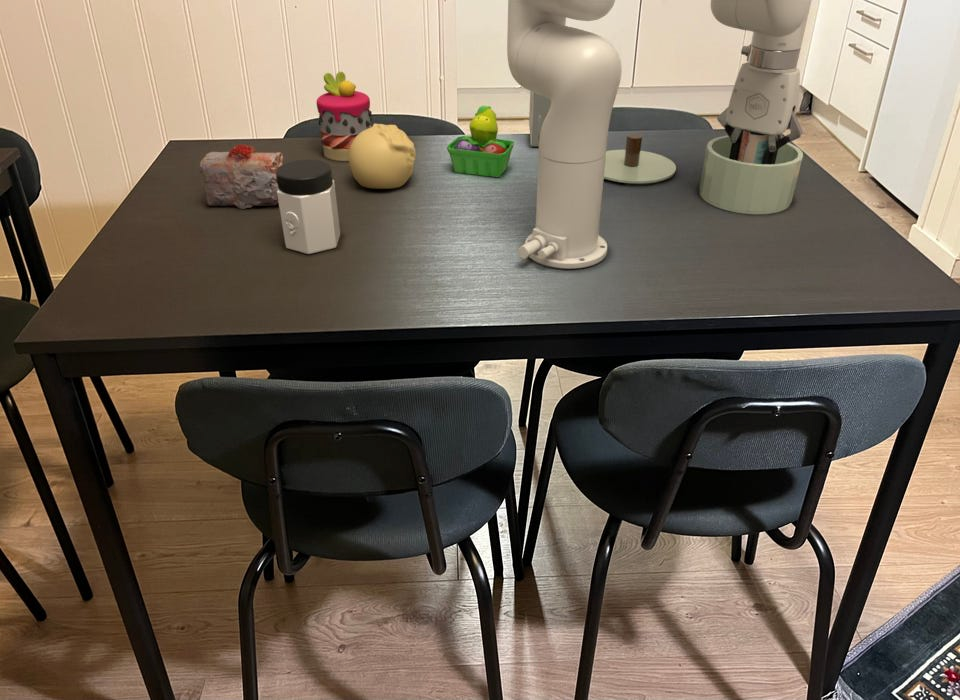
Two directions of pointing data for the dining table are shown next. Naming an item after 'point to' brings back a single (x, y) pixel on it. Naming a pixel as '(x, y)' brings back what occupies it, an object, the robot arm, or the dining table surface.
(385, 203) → the dining table surface
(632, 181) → the tub lid
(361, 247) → the dining table surface
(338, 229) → the jar
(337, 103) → the cake
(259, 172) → the food item
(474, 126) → the fruit basket
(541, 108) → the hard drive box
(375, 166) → the sculpture
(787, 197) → the tub
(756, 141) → the beer can
